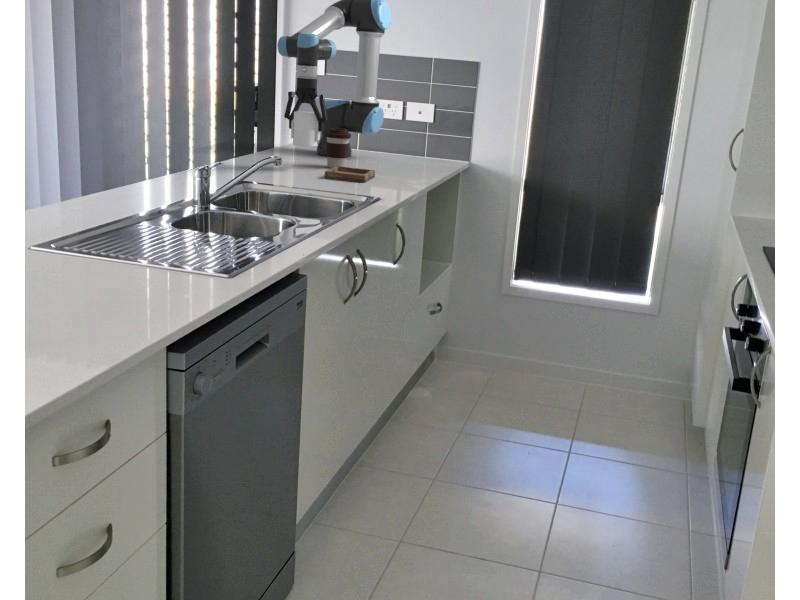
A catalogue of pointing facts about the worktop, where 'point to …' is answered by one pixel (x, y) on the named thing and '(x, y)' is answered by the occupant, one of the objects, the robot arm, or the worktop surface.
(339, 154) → the coffee cup
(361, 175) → the tray
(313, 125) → the white box
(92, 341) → the worktop surface
